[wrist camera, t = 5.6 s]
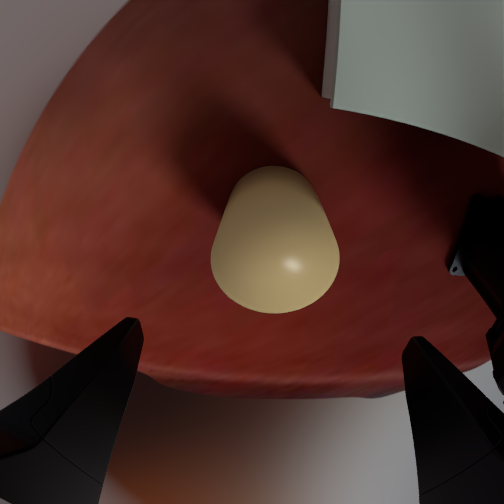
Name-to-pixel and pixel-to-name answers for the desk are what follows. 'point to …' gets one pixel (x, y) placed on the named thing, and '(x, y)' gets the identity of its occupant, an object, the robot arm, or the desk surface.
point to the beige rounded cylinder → (274, 243)
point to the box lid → (424, 65)
